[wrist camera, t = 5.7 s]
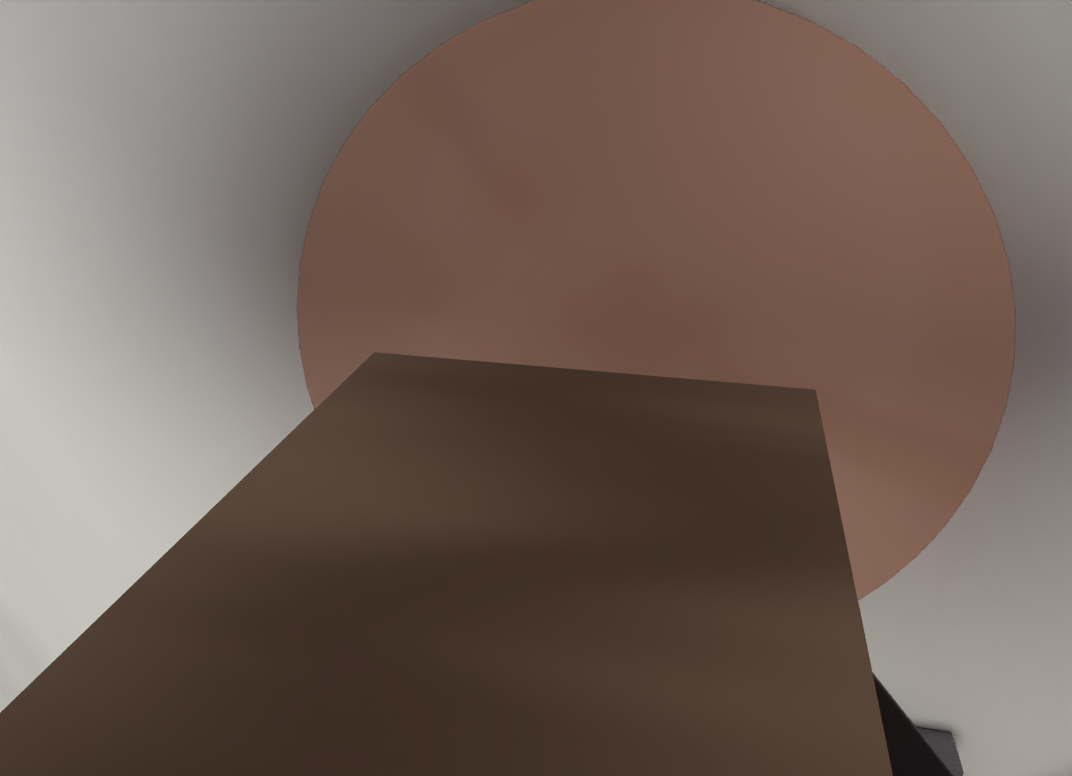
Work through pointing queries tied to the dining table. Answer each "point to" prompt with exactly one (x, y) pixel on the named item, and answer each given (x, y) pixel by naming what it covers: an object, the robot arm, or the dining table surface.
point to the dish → (682, 235)
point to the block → (490, 595)
